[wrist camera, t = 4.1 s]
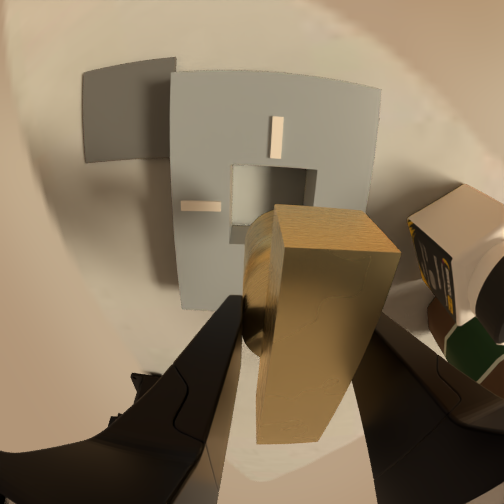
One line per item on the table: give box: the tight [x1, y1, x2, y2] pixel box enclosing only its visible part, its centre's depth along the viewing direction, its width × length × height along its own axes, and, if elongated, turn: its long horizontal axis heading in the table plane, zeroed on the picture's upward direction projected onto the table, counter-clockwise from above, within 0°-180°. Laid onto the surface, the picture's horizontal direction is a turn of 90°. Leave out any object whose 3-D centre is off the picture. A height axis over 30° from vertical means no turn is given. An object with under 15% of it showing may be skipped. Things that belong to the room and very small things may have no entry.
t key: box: [242, 204, 401, 444], centre depth 9 cm, size 3×7×7 cm, turn 177°
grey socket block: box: [170, 70, 381, 311], centre depth 18 cm, size 16×12×3 cm
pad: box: [83, 57, 176, 163], centre depth 16 cm, size 7×7×1 cm
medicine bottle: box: [407, 184, 504, 345], centre depth 16 cm, size 7×7×12 cm
